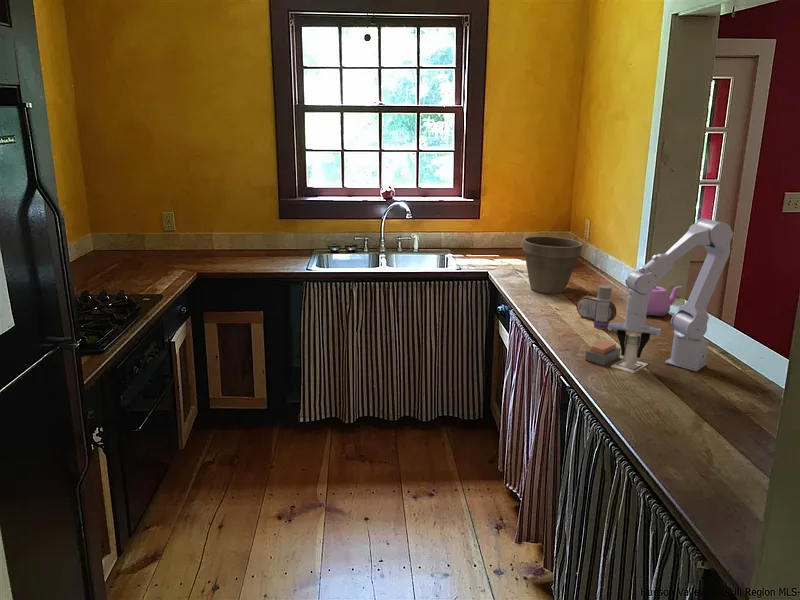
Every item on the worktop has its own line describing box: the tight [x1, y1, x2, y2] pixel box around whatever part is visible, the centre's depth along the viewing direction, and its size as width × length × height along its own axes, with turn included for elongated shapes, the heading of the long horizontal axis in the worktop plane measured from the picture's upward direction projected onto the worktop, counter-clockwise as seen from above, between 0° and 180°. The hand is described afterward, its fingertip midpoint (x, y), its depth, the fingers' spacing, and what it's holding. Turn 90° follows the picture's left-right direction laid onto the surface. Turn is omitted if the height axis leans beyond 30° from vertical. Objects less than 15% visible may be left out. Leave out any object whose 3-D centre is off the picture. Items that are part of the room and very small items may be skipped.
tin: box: [576, 295, 617, 323], centre depth 238 cm, size 15×3×8 cm, turn 47°
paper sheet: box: [610, 359, 649, 374], centre depth 194 cm, size 7×10×1 cm
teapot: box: [646, 283, 683, 317], centre depth 248 cm, size 20×13×12 cm, turn 89°
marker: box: [622, 333, 641, 364], centre depth 192 cm, size 4×4×8 cm
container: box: [593, 284, 613, 330], centre depth 228 cm, size 5×5×15 cm
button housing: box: [584, 346, 621, 366], centre depth 199 cm, size 6×10×3 cm, turn 136°
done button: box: [590, 340, 617, 355], centre depth 198 cm, size 4×8×2 cm, turn 136°
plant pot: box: [522, 235, 583, 295], centre depth 277 cm, size 25×25×22 cm
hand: (630, 355), depth 193 cm, fingers closed on marker, 4 cm apart
